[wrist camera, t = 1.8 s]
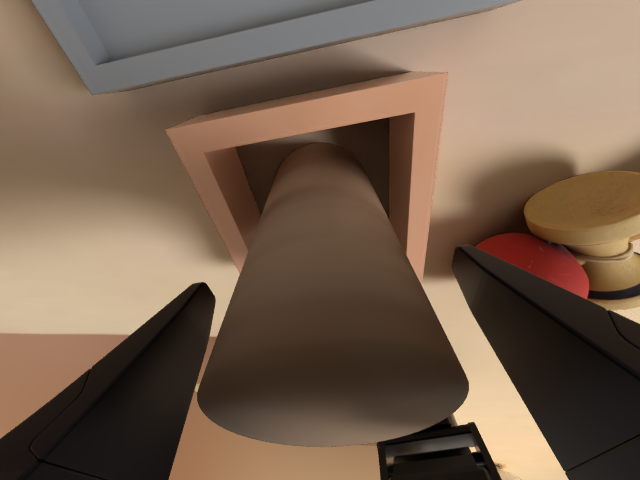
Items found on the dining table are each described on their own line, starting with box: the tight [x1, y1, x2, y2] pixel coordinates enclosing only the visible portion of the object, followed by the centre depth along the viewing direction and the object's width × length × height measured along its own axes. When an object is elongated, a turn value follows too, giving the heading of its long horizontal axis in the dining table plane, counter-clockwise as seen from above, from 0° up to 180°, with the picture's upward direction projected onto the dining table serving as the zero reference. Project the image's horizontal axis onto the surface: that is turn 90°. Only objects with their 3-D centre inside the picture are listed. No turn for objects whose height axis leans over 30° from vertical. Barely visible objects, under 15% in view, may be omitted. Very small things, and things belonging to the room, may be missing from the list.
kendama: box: [475, 171, 640, 310], centre depth 13 cm, size 8×6×18 cm
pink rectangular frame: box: [165, 72, 448, 283], centre depth 12 cm, size 10×10×4 cm
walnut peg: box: [197, 143, 469, 447], centre depth 9 cm, size 6×6×11 cm
